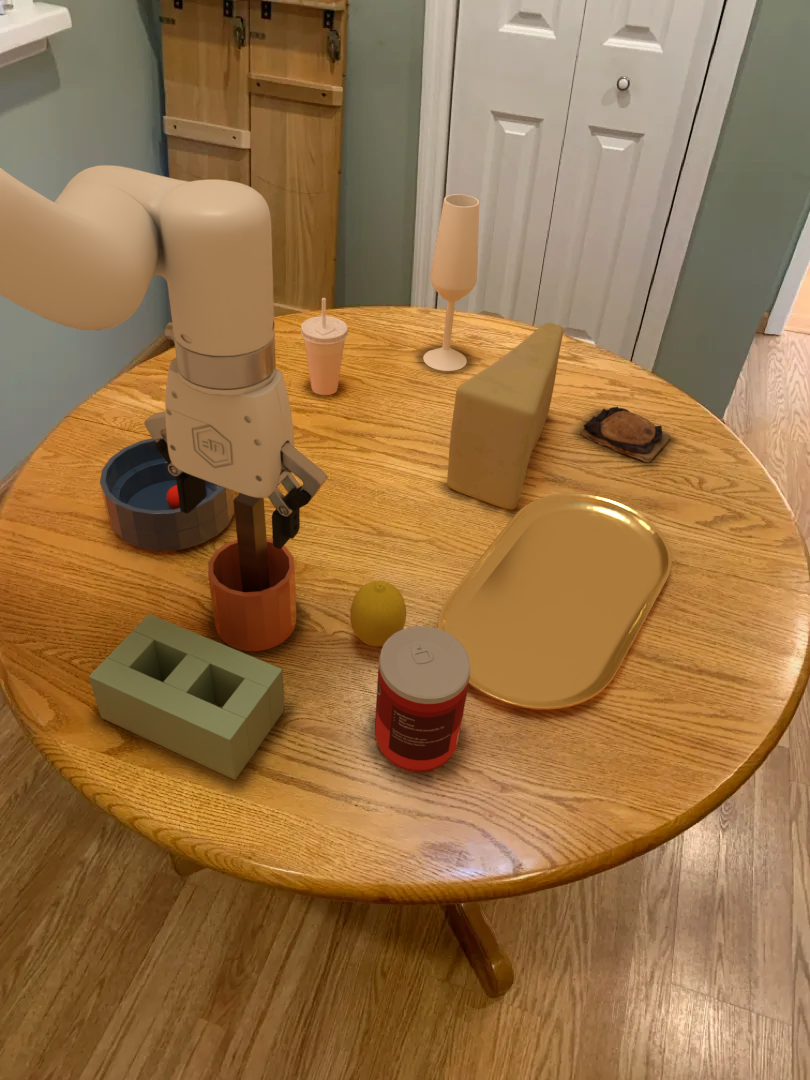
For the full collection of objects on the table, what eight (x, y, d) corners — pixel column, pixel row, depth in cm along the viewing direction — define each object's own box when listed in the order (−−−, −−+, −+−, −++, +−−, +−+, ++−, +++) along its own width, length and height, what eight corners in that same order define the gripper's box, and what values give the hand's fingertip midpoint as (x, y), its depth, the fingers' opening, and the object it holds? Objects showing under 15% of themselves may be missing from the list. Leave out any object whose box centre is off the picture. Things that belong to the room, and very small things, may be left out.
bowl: (103, 558, 92) (93, 517, 88) (115, 478, 103) (107, 438, 99) (235, 550, 95) (231, 509, 91) (234, 473, 105) (230, 433, 101)
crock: (215, 654, 83) (207, 598, 78) (215, 595, 89) (208, 539, 84) (298, 648, 85) (296, 592, 79) (293, 590, 91) (291, 534, 85)
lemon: (386, 670, 83) (390, 615, 78) (339, 647, 85) (339, 591, 80) (413, 634, 87) (419, 579, 82) (367, 613, 89) (369, 558, 83)
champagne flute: (437, 374, 125) (453, 212, 109) (415, 353, 130) (427, 194, 114) (475, 365, 128) (496, 206, 112) (452, 345, 132) (469, 188, 116)
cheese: (509, 405, 120) (525, 308, 110) (573, 426, 117) (596, 328, 107) (441, 488, 105) (453, 384, 95) (513, 514, 102) (534, 410, 92)
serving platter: (402, 661, 84) (403, 651, 83) (545, 484, 107) (547, 474, 106) (576, 750, 78) (579, 740, 77) (689, 541, 101) (692, 531, 100)
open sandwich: (672, 439, 117) (680, 417, 114) (647, 467, 111) (654, 444, 109) (603, 410, 121) (609, 388, 119) (575, 435, 116) (581, 412, 113)
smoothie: (299, 398, 118) (296, 306, 109) (304, 374, 123) (303, 284, 114) (344, 402, 118) (346, 309, 109) (348, 378, 123) (350, 287, 114)
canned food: (422, 690, 82) (432, 612, 74) (475, 748, 77) (491, 672, 70) (356, 726, 78) (360, 648, 71) (408, 790, 73) (417, 714, 66)
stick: (261, 626, 86) (251, 506, 75) (245, 619, 86) (232, 499, 75) (272, 613, 87) (263, 493, 76) (255, 607, 88) (244, 487, 77)
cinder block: (235, 780, 73) (229, 740, 69) (100, 717, 77) (88, 676, 73) (285, 709, 79) (282, 668, 75) (157, 655, 83) (148, 613, 79)
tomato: (173, 491, 95) (198, 496, 97) (169, 477, 97) (194, 482, 99) (164, 513, 96) (190, 517, 98) (161, 498, 99) (186, 503, 100)
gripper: (102, 344, 65) (134, 514, 76) (299, 409, 60) (301, 579, 72) (162, 306, 70) (183, 470, 81) (348, 362, 65) (342, 528, 77)
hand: (239, 521), depth 76 cm, fingers open, 9 cm apart
